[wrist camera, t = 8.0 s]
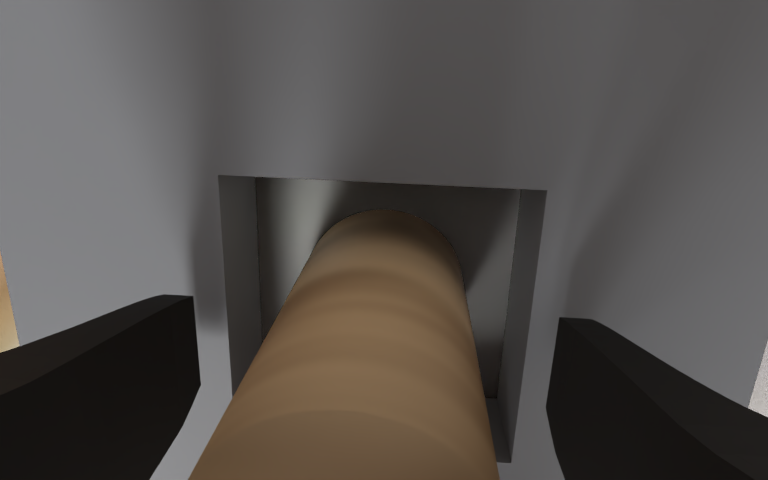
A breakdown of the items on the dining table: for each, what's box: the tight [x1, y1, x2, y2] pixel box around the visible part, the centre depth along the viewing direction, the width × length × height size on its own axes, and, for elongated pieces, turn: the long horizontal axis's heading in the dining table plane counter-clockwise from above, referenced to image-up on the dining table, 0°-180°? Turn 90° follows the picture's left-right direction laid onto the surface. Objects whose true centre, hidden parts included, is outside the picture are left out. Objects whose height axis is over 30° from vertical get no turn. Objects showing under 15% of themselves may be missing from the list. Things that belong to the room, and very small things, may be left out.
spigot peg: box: [188, 209, 500, 480], centre depth 10 cm, size 4×4×8 cm
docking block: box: [0, 0, 768, 480], centre depth 13 cm, size 16×16×2 cm
